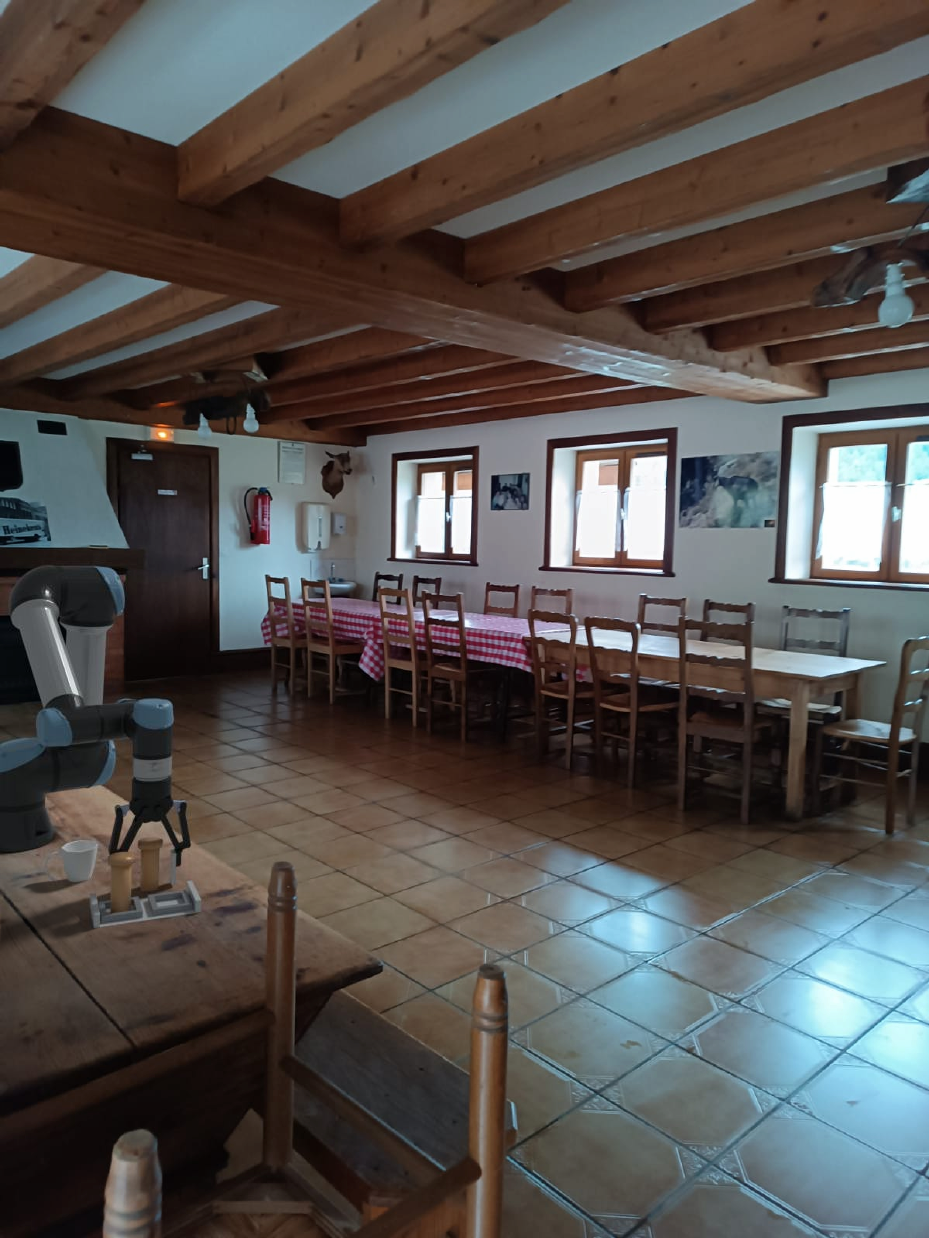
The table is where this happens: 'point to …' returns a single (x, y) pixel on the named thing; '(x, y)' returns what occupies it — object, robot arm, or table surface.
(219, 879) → the table surface
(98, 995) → the table surface
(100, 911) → the tray
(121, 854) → the rounded wooden peg
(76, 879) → the cup
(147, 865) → the tan ball-headed post
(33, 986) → the table surface
